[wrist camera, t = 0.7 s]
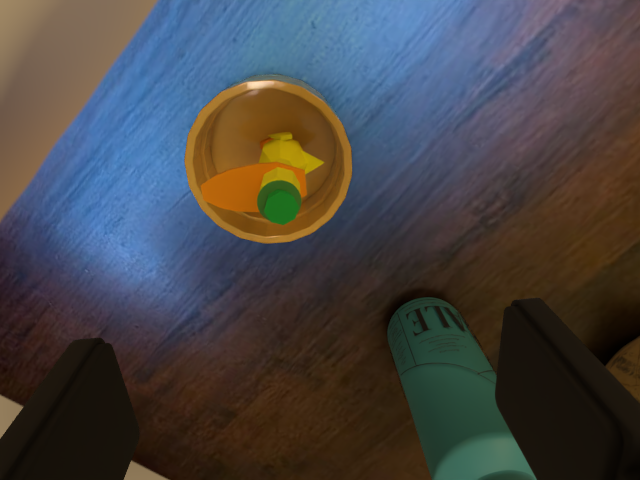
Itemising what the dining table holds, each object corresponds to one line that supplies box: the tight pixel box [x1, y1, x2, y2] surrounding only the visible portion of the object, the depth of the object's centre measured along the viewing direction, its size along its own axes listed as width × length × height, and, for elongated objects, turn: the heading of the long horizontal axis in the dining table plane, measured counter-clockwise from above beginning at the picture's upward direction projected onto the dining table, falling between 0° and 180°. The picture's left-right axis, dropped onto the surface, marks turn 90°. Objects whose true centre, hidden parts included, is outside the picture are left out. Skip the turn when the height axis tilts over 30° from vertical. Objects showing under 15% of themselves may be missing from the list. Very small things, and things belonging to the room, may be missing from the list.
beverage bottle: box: [387, 297, 537, 480], centre depth 29 cm, size 6×7×20 cm
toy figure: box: [201, 132, 325, 225], centre depth 26 cm, size 7×4×12 cm, turn 94°
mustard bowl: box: [184, 74, 352, 243], centre depth 29 cm, size 10×10×5 cm
